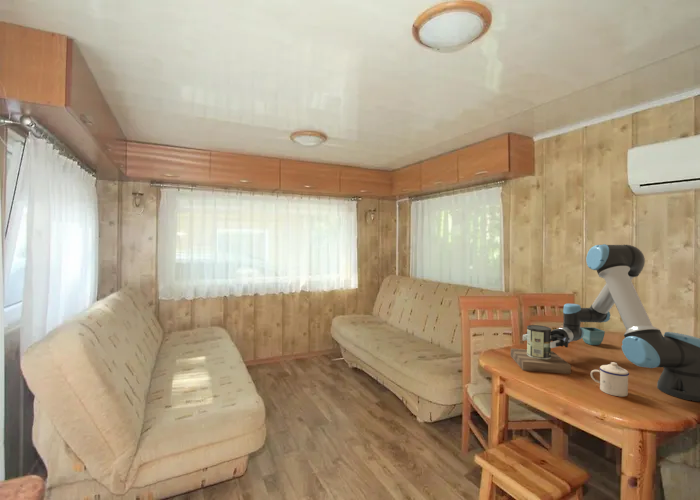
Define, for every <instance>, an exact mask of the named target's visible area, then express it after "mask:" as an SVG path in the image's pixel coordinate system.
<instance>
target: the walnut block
mask: <svg viewBox="0 0 700 500" xmlns="http://www.w3.org/2000/svg"><path fill="white" fill-rule="evenodd" d="M510 357H511V358H512V359H513V361H515V363H516V364H517V366H519V367H520V369H521V370H522V371H528V372H540V373H541V372H542V373H556V374H567V375H571V373H572V371H571V370H572V365H571V364H570V363H568V361H566V360H565V359H564V358H562V357H561V356H560V355H558V354H557V353H556V352H554V351H553V350H551V359H547V360H543V359H536V358H532V357H530V356H528V355H527V348H526V349H525V348H510Z"/></svg>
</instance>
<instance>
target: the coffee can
mask: <svg viewBox="0 0 700 500" xmlns="http://www.w3.org/2000/svg"><path fill="white" fill-rule="evenodd" d="M526 328H527V329H526V332H527V340H526V341H527V342H526V349H527V355H528V356H530V357H532V358H536V359H543V360H547V359H551V351H552V348H550V342H552V341H551V331H552V328H551V327H549V326H546V325H540V324H539V325H538V324H537V325H535V324H530V325H526Z"/></svg>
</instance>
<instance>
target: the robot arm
mask: <svg viewBox="0 0 700 500" xmlns="http://www.w3.org/2000/svg"><path fill="white" fill-rule="evenodd" d="M585 260H586V265H587V267H588V268H589V269H590V270H593V271H596V273H597V275H598V277H599V278H601V279H604V282H605V284H604V286H603V287H602V289H601V290H600V292H599V293H598V295H597V297H595V299H594V301H593V303H592V304H591V305H590V307H582V306H581V305H580V304H577V303H565V304H564V305H563V310H562V313H563V315H562V317H563V324H562V327H559V328H554V329H551V342H550V348H551V349H553V348H554V349H555V348H558V347H564V348H569V344H570V342H576V341H579V340H581V339H582V337H583V336H584V332H583V330H582V328H581V323H600V324H601V323H606V322H609V321H610V319H611V312H610V310H611V309H612V307H613V306H614V305H615V306H616V309H617V311H618V313H619V317H620V319H621V320H622V323H623V325H624V327H625V330H626V331H625V332H624V334H623V336H624V338H623V339H622V342H621V344H622V345H621V350H622V352H623V354H624V356H625V358H626V359H627V360H628V361H629V362H630V363H631V364H633V365H635V366H637V367H640V368H648V369H654V368H663V370H662V372H661V373H660V376H659V379H658V380H657V383H656V387H657V389H658V390H659V391H660V392H662V393H664V394H667V395H669V396H672V397H675V398H678V399H681V400H687V401H691V400H692V402H700V338H699V337H696V336H692V335H688V334H683V333H678V332H673V331H665V332H664V334H663V333H662V331H661V329H660V328H657V327H655V326H654V325H653V324H652V321H651V319H650V318H649V315H648V312H647V311H646V309H645V307H644V305H643V302H642V300H641V298H640V296H639V294H638V292H637V289H636V288H635V286H634V283H633V281H632V280H633V279H634V278H637V277H638V276H640V274H641V272H642V271H643V269H644V267H645V263H646V260H645V255H644V253H643V252H642V250H641V249H640V248H638V247H636V246H635V245H632V244H596V245H593V246H592V247H590V248H589V250H588V251H587V254H586V259H585ZM525 333H526V334H522V341H524V342H525V341H527V331H526V332H525Z"/></svg>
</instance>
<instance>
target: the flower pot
mask: <svg viewBox="0 0 700 500" xmlns="http://www.w3.org/2000/svg"><path fill="white" fill-rule="evenodd" d="M580 327H581V326H580ZM581 328H582V330H583V332H584V336H583V337H582V338H581V339H582V340H583V342H584V343H585V344H587V345H590V346H600V345H601V343H602V342H603V340H604V337H605V333H606V331H605V330H602V329H599V328H596V327H592V326H591V327H588V326H586V327H581Z"/></svg>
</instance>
